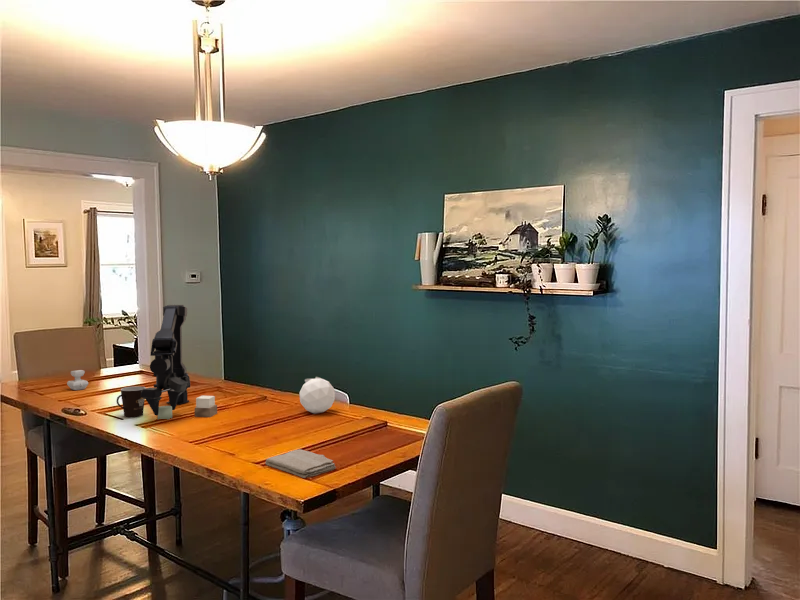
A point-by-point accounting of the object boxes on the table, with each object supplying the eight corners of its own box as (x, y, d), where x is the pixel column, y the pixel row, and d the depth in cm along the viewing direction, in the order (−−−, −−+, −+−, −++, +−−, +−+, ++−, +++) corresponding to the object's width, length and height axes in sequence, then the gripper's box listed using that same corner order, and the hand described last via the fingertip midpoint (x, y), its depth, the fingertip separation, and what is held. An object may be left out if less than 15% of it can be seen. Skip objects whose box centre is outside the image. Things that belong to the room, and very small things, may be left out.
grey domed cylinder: (154, 419, 229) (154, 408, 229) (163, 416, 234) (163, 405, 234) (166, 420, 228) (166, 409, 227) (175, 417, 232) (175, 406, 232)
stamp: (65, 389, 282) (65, 370, 282) (80, 387, 288) (80, 368, 287) (74, 391, 277) (74, 372, 276) (90, 389, 282) (89, 370, 281)
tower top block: (196, 407, 233) (196, 398, 233) (202, 404, 238) (202, 395, 238) (209, 408, 233) (209, 398, 232) (214, 405, 238) (214, 396, 237)
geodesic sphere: (289, 401, 233) (312, 372, 234) (289, 394, 246) (311, 366, 247) (320, 424, 235) (343, 394, 236) (319, 415, 249) (340, 387, 249)
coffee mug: (140, 411, 240) (140, 385, 240) (150, 415, 234) (149, 388, 234) (108, 416, 232) (108, 389, 232) (117, 420, 226) (117, 393, 225)
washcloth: (306, 480, 166) (306, 469, 166) (263, 466, 177) (263, 455, 177) (338, 470, 175) (338, 458, 175) (296, 457, 186) (296, 446, 186)
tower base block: (194, 417, 233) (194, 407, 233) (202, 413, 239) (202, 404, 239) (210, 417, 232) (210, 408, 232) (217, 414, 238) (217, 404, 238)
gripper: (166, 375, 218) (166, 420, 219) (199, 367, 236) (199, 408, 237) (139, 373, 222) (140, 417, 223) (174, 365, 240) (174, 406, 240)
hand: (165, 412), depth 231 cm, fingers open, 9 cm apart
